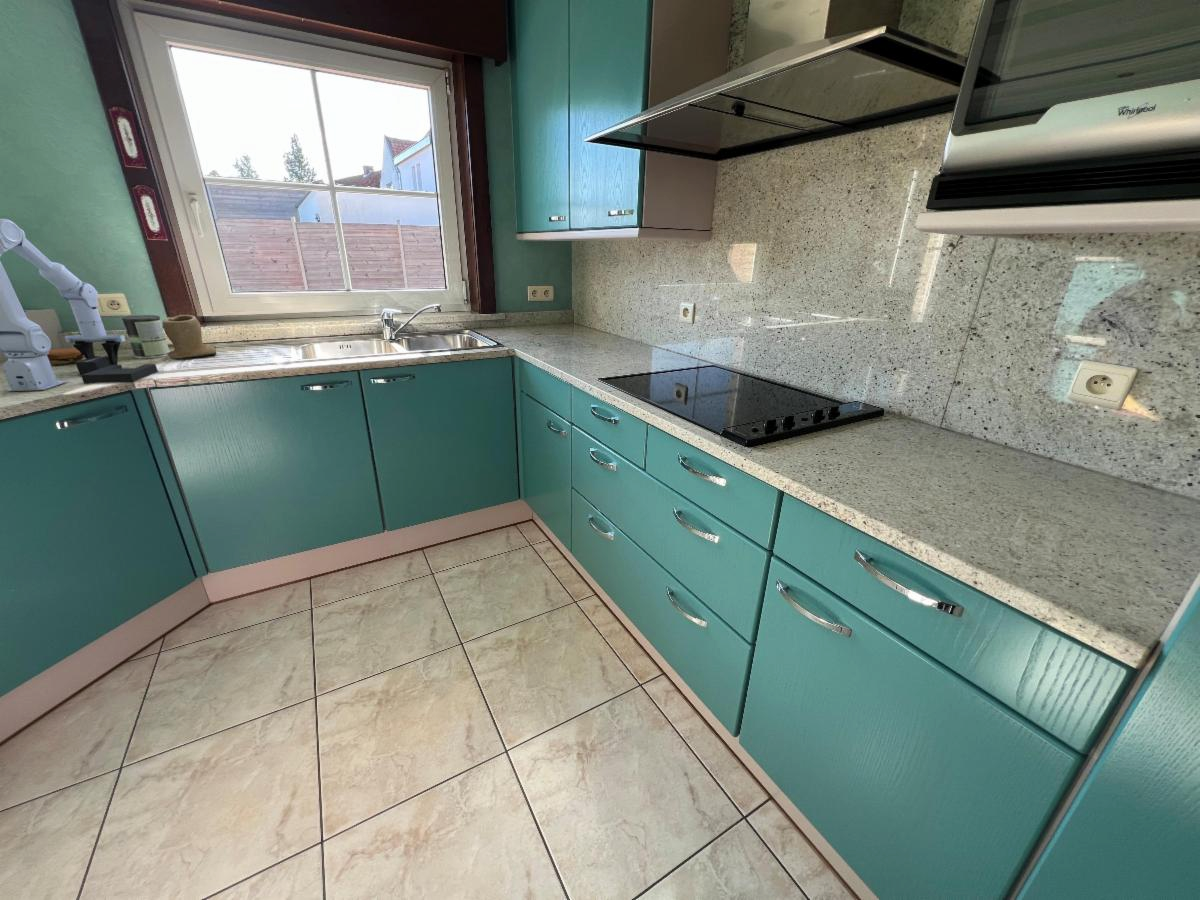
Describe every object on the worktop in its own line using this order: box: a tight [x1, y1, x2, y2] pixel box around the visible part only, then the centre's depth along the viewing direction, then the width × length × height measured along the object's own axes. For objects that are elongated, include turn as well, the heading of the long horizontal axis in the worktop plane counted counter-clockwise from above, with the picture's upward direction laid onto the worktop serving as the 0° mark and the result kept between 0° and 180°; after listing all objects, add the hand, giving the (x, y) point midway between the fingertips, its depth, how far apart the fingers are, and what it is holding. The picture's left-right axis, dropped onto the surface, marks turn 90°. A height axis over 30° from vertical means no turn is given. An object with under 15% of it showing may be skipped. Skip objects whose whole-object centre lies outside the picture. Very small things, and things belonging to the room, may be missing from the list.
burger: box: [47, 347, 86, 366], centre depth 167 cm, size 10×9×5 cm
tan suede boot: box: [161, 314, 217, 359], centre depth 179 cm, size 15×12×15 cm
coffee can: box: [121, 314, 171, 360], centre depth 178 cm, size 10×10×14 cm
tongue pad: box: [74, 355, 119, 376], centre depth 157 cm, size 10×5×4 cm, turn 16°
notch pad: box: [80, 363, 159, 384], centre depth 151 cm, size 14×12×2 cm
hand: (104, 364), depth 160 cm, fingers closed on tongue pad, 5 cm apart
